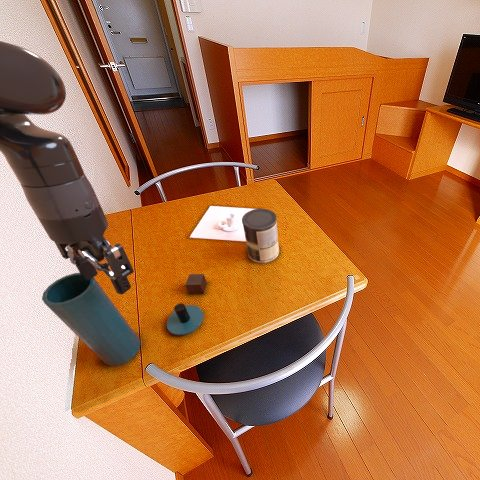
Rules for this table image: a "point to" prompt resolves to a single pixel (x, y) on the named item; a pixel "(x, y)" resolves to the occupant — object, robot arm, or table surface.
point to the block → (196, 284)
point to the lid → (184, 319)
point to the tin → (92, 318)
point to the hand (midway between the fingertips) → (107, 283)
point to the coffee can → (261, 235)
